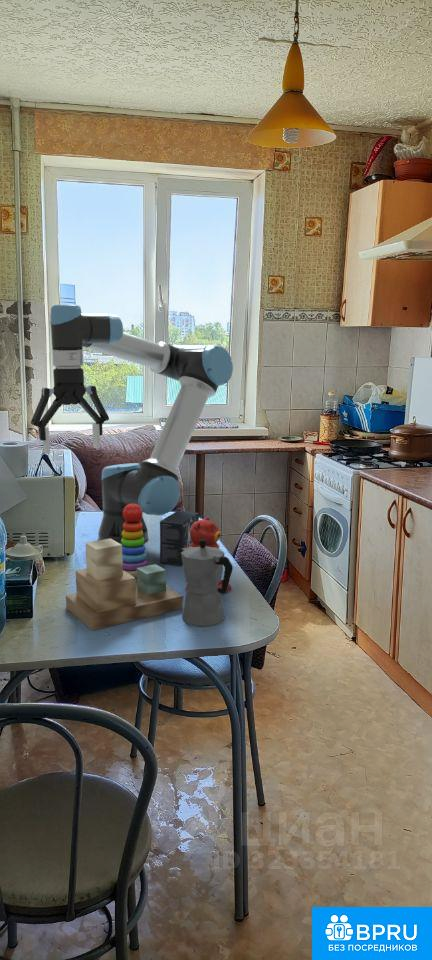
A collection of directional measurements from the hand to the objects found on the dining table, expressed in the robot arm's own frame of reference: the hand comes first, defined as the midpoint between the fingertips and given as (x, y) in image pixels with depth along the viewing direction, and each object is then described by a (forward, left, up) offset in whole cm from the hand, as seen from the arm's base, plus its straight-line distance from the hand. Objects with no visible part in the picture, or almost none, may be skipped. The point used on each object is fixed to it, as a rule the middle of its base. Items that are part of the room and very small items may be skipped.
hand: (72, 450), depth 180 cm
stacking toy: (-10, +13, -32) cm, 36 cm away
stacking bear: (-19, +34, -32) cm, 50 cm away
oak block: (+7, +33, -23) cm, 41 cm away
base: (+2, +33, -32) cm, 46 cm away
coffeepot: (-10, +49, -32) cm, 59 cm away
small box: (-27, +8, -32) cm, 43 cm away
